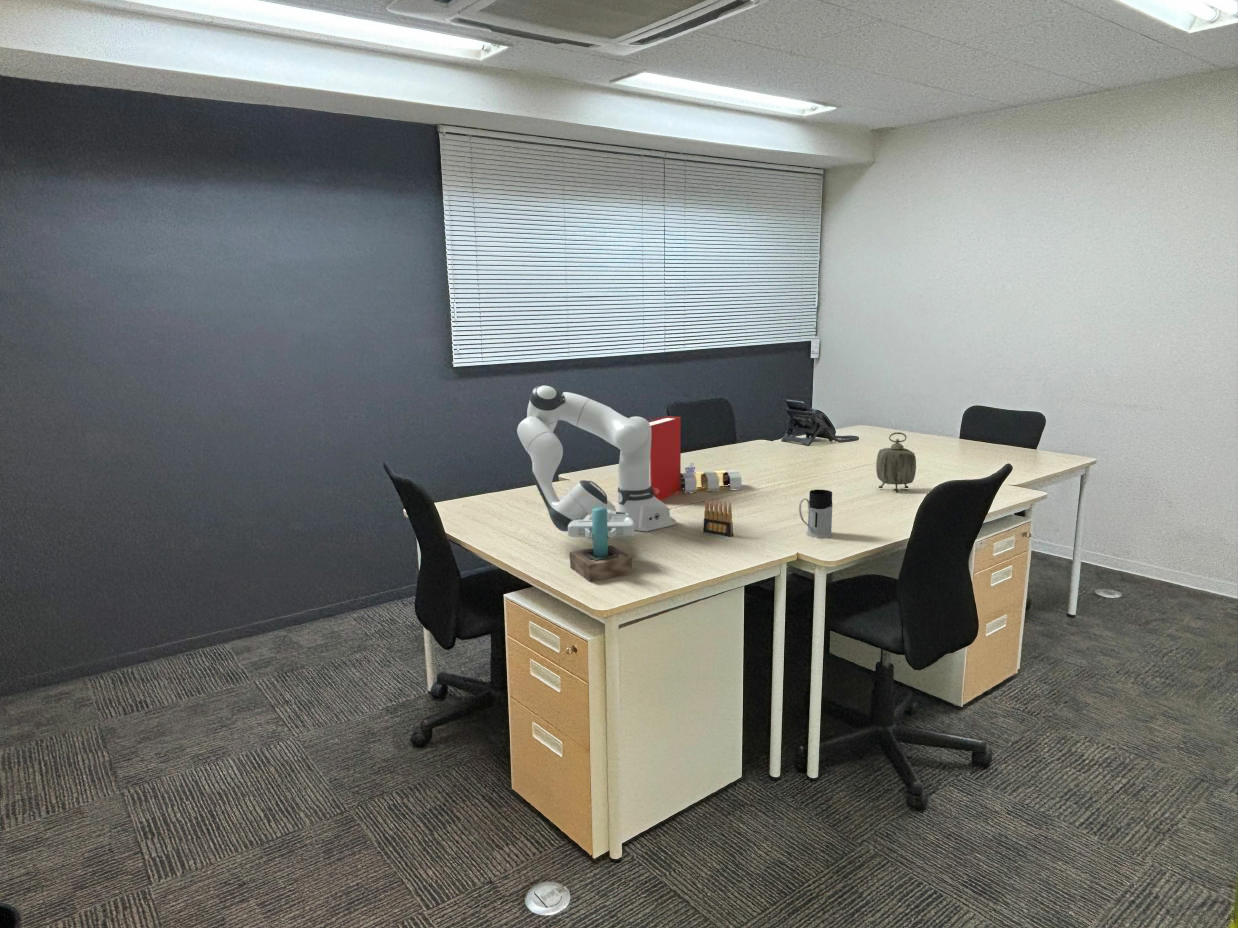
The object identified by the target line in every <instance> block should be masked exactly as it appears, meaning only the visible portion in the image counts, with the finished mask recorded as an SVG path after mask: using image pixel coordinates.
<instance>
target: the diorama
mask: <svg viewBox="0 0 1238 928" xmlns="http://www.w3.org/2000/svg"><path fill="white" fill-rule="evenodd" d="M695 470H696V466H695V464H694V463H693V462H692V463H691V464H689V466H687V467H685V468H684V471H685V472H681V488H685V489H684V494H688V493H687V492H696V493H697V489H698V488H697V487H708V488H707V490H706V492H707V491H713V492H719V490H720V487H719V486H720V485H728V484H730V486H729V489H740V490H741V489H742V475H741V473H740V471H738V469H731V470H729V469H728V470H726V469H725V470H713V471H712V470H711V471H696V472H695Z"/></svg>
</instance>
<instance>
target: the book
mask: <svg viewBox="0 0 1238 928" xmlns="http://www.w3.org/2000/svg"><path fill="white" fill-rule="evenodd" d="M681 420H682V419H681V416H672V415H662V416H659V417H656V418H652V419H647V421H648V422H649V424H650V426H651V431H652V432H651V452H650V464H649V486H650V487H652V488H657V489H658V491H659V493H658V494H655V493H653V494H654V497H656V498H657V499H659V500H660V501H663V500H665V499H666V497H667V498H668V496H669V497H671V496H673V495H675V494H677V493H676V492H678V493H680V492H682V491H681V490H682V489H681V473H682V472H681V470H682V466H681V463H682V462H681V461H682V460H681V459H682V458H681V457H682V456H681V451H682V450H681V445H682V442H681V433H682V431H681V426H682V425H681ZM679 491H680V492H679ZM674 493H675V494H674ZM672 494H673V495H672ZM670 495H671V496H670Z"/></svg>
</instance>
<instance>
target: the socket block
mask: <svg viewBox="0 0 1238 928" xmlns="http://www.w3.org/2000/svg"><path fill="white" fill-rule="evenodd" d="M569 567H570V569H571V570H572V571H574V572H575V571H576V573H577V574H579V575H580V576H581V577H582V576H583V577H582V578H584V579H585V578H586V579H587V580H586V579H585V580H586V581H588V582H589V581H590V582H595V581H594V580H596V581H600V580H604V579H605V580H606V579H612V578H617V577H622V576H628V575H633V557H632V556H630V555H628V554H627V553H625V552H623V551H622V550H620V549H619V548H616V547H615V546H613V545H608V556H605V557H599V558H595V557H593V547H592V548H587V549H586V548H585V549H580V550H574V551H570V552H569ZM611 577H612V578H611Z"/></svg>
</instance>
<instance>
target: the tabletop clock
mask: <svg viewBox="0 0 1238 928" xmlns="http://www.w3.org/2000/svg"><path fill="white" fill-rule="evenodd" d="M894 435H902V436H904V439H903V440H902V439H901V440H900V439H899V438H896V440H893V439H892V438H891V437H893V436H894ZM888 439H889V440H890V441H891V442H893V443H892V444H891V446H890V447H885V448H881V449H879V451H878V453H877V457H876V464H875V465H876V466H875V468H876V469H875V471H876V476H877V479H878V480H879V481H880V482H881V483H882V484H881V485H879V486H878V489H879V488H882V489H883V488H884V487H883V486H885V484H887V485H895V489H894V490H895V491H898V492H899V488H898V485H904V489H905V488H908V489H909V488H910V487H909V486H908V485H909V484H911V483H913V482H914V480H915V477H916V471H917V457H916V454H915V452H913V451H911V450H910V449H907V448H905V447H904V446H903V444H902V443H903V442H905V441H907V435H906V434H905V433H903V432H897V431H896V432H892V433H891V434H889V437H888ZM895 491H894V492H895Z"/></svg>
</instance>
